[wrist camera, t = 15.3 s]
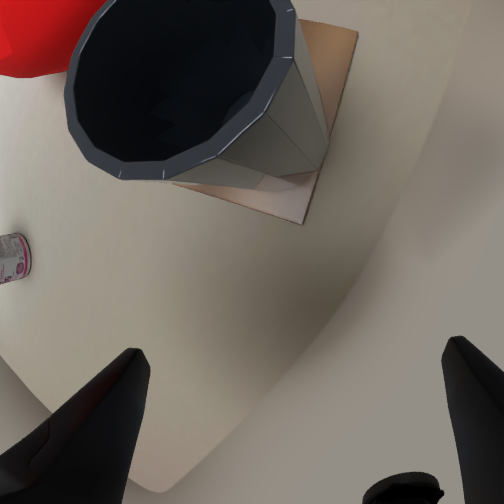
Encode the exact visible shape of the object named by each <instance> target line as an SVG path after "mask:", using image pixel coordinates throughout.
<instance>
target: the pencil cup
mask: <svg viewBox="0 0 504 504" xmlns="http://www.w3.org/2000/svg"><path fill="white" fill-rule="evenodd" d="M64 102H65V110H66V118H67V125H68V130H69V132H70V134H71V136H72V137H73V139H74V141H75V142H76V144H77V146H78V147H79V149H80V151H81V152H82V154H83V156H84V157H85V159H86V160H87V161H88V162H89V163H91V164H93V165H94V166H96V167H98V168H100V169H102V170H103V171H105V172H107V173H109V174H110V175H112V176H114V177H116V178H117V179H121V180H128V181H145V182H160V183H174V184H186V185H198V186H209V187H220V188H230V189H240V190H249V191H261V192H281V191H286V190H290V189H292V188H295V187H297V186H299V185H301V184H302V183H304V182H305V181H307V180H308V179H309V178H310V177H311V176H312V175H313V174H314V173H315V172H316V171H317V170H318V168H319V167H320V165H321V164H322V162H323V160H324V158H325V155H326V152H327V148H328V142H329V131H328V128H329V126H328V121H327V117H326V113H325V109H324V105H323V101H322V97H321V93H320V89H319V86H318V82H317V78H316V75H315V71H314V68H313V64H312V61H311V57H310V54H309V51H308V47H307V44H306V41H305V38H304V34H303V31H302V28H301V25H300V22H299V19H298V16H297V13H296V10H295V8H294V6H293V4H292V2H291V1H290V0H107V1H106V2H105V3H104V4H103V5H102V6H101V7H100V9H99V10H98V11H97V12H96V13H95V14H94V15H93V16H92V18H91V19H90V21H89V23H88V24H87V26H86V28H85V30H84V32H83V33H82V35H81V37H80V39H79V41H78V43H77V45H76V47H75V49H74V51H73V53H72V56H71V59H70V64H69V68H68V73H67V78H66V83H65V88H64Z"/></svg>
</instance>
